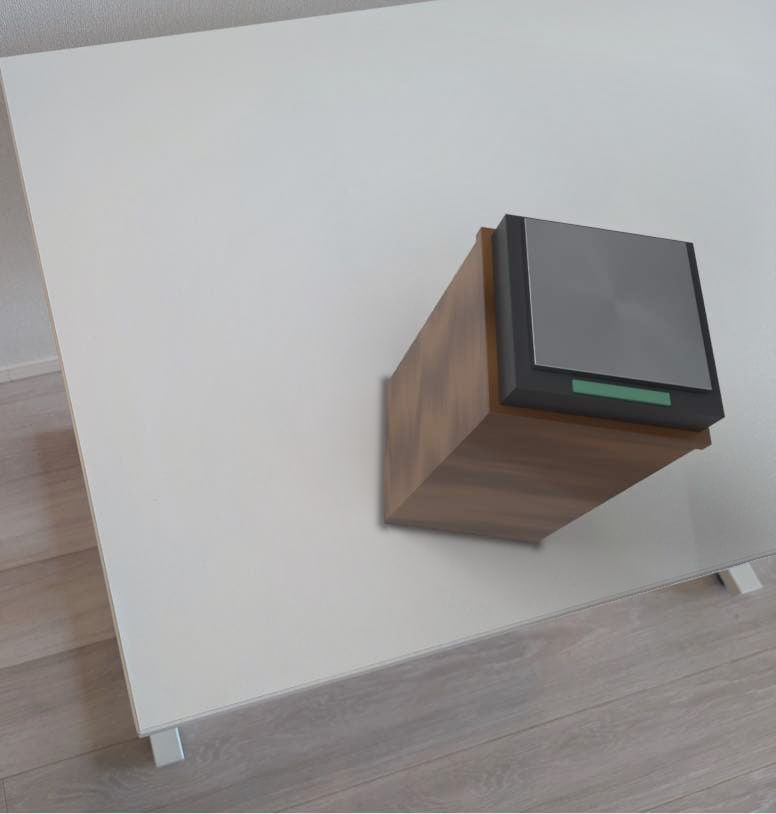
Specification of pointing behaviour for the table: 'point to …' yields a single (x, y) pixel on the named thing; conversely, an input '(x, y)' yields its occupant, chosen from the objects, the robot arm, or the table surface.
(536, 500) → the box
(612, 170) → the table surface
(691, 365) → the scale
